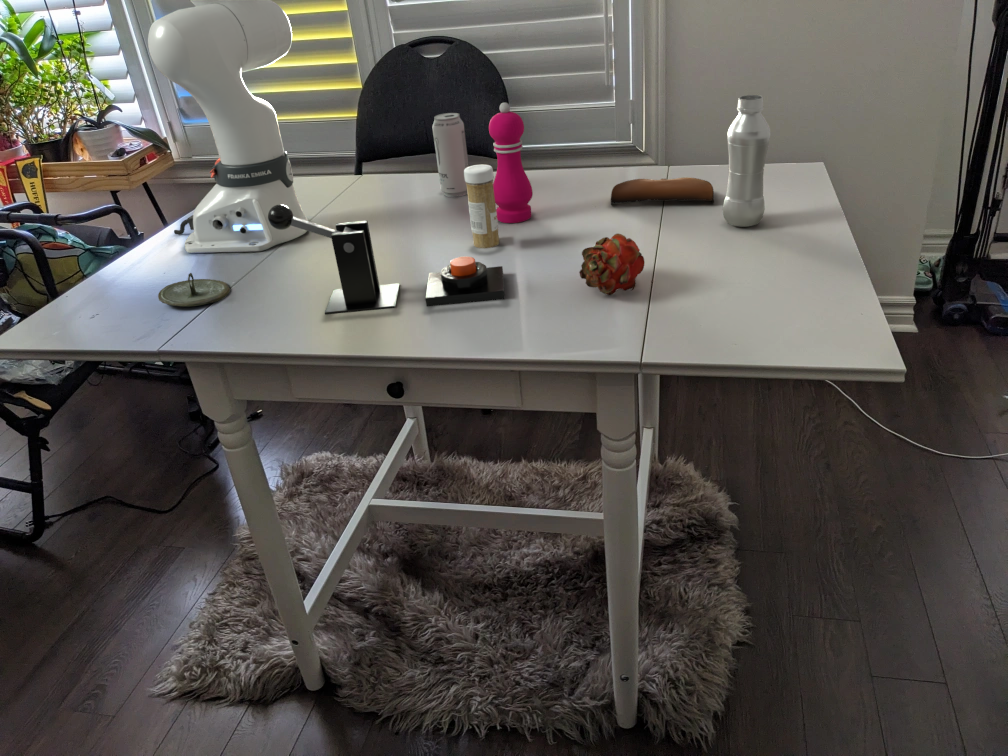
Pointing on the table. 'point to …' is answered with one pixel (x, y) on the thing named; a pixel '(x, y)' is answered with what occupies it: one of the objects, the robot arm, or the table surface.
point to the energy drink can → (450, 153)
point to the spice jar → (482, 205)
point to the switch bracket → (358, 273)
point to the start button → (463, 266)
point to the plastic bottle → (746, 163)
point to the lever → (297, 222)
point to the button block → (465, 286)
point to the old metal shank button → (193, 292)
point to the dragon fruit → (612, 264)
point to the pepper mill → (510, 168)
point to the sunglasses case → (662, 190)
